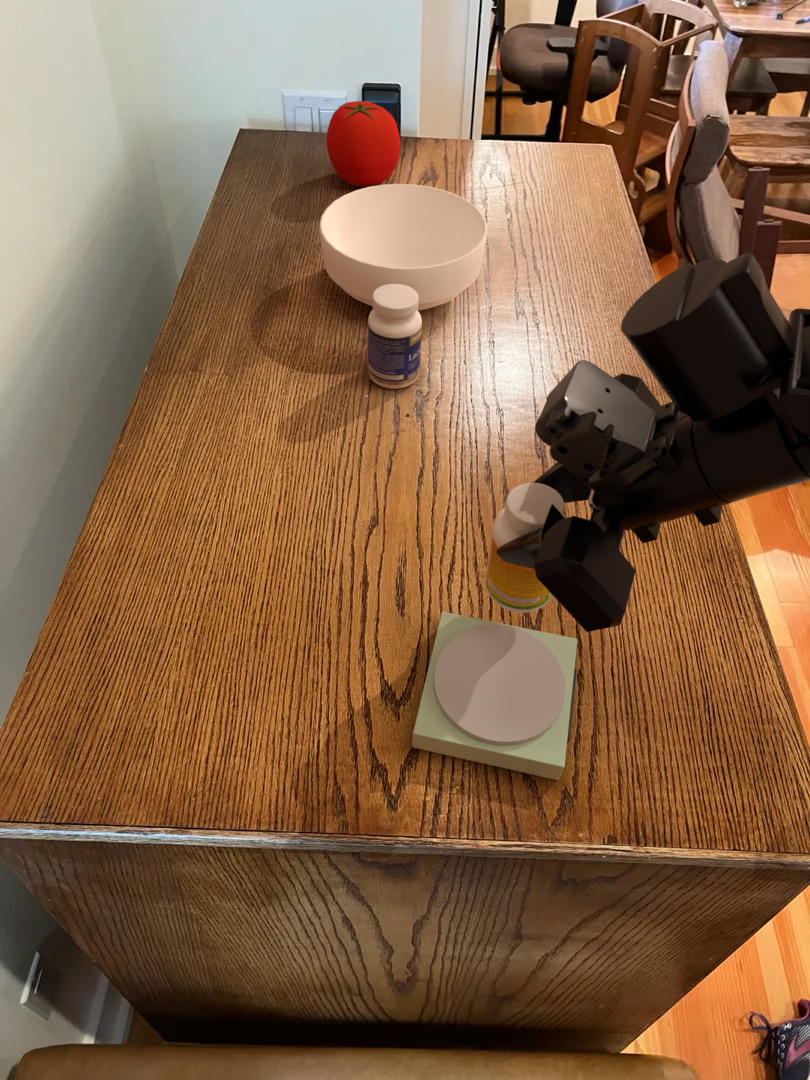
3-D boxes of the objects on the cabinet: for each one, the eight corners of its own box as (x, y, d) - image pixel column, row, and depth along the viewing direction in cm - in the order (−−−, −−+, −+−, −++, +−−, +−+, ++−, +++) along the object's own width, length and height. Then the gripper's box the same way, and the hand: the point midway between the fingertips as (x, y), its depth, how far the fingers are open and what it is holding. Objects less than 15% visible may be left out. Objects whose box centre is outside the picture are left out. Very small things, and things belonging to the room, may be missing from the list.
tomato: (363, 157, 119) (362, 81, 110) (413, 181, 114) (415, 103, 106) (312, 180, 114) (307, 101, 105) (362, 205, 109) (361, 126, 101)
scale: (574, 654, 63) (582, 634, 61) (561, 781, 56) (569, 764, 54) (440, 627, 64) (442, 606, 62) (411, 747, 57) (412, 729, 55)
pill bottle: (419, 391, 84) (423, 312, 76) (366, 390, 83) (365, 310, 76) (419, 359, 87) (423, 280, 80) (369, 357, 87) (368, 278, 79)
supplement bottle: (554, 617, 58) (577, 535, 51) (483, 612, 59) (496, 529, 51) (552, 562, 62) (573, 477, 54) (485, 557, 62) (497, 472, 55)
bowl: (293, 277, 97) (287, 212, 91) (415, 231, 105) (418, 169, 99) (385, 354, 88) (386, 289, 81) (512, 298, 95) (522, 234, 89)
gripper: (670, 265, 47) (483, 369, 58) (605, 464, 36) (389, 546, 47) (757, 397, 51) (567, 471, 62) (723, 612, 40) (499, 655, 51)
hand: (511, 526), depth 55 cm, fingers closed on supplement bottle, 5 cm apart
